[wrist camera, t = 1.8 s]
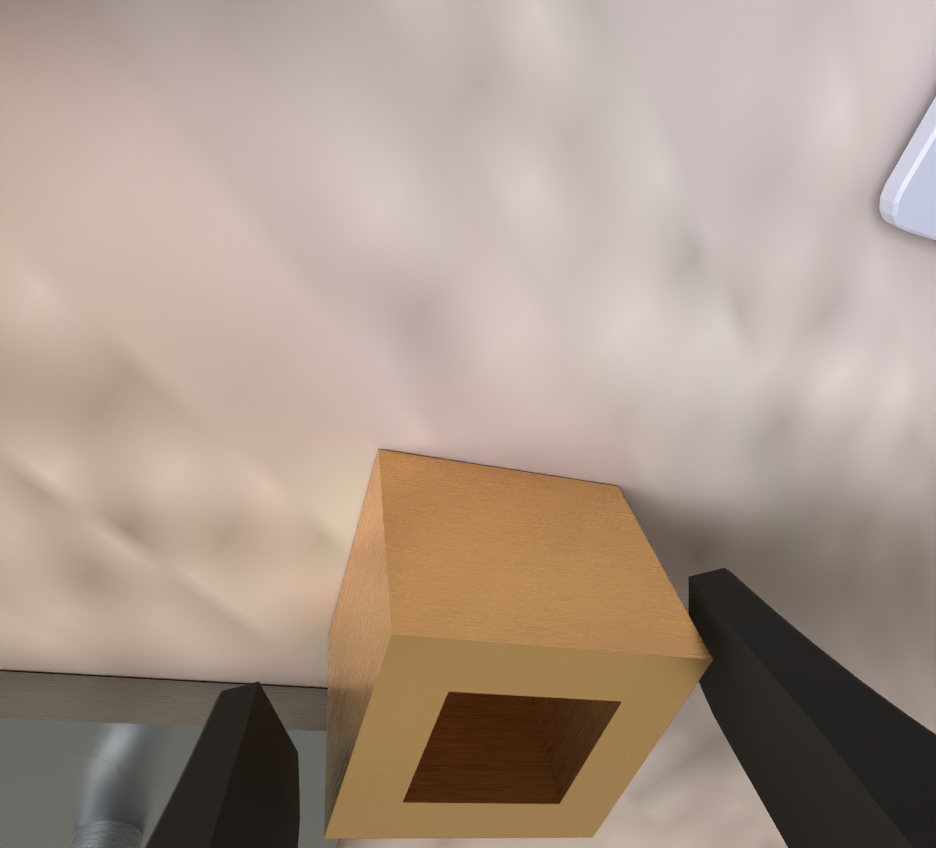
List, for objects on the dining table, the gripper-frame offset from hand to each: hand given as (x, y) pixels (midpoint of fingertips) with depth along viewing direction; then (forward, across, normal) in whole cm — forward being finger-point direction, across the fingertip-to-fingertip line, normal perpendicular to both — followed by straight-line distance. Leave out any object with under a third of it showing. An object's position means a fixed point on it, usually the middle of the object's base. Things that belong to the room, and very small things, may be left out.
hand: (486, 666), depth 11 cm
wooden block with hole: (+2, 0, 0) cm, 2 cm away
